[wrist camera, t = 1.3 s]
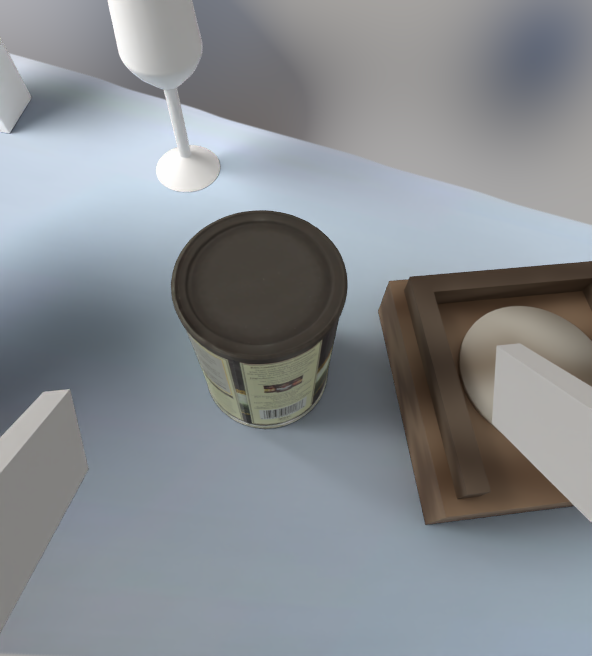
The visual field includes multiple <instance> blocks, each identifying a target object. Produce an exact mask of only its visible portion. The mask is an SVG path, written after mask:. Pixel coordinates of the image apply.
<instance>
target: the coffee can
mask: <svg viewBox="0 0 592 656" xmlns="http://www.w3.org/2000/svg"><path fill="white" fill-rule="evenodd" d="M171 294H172V300H173V304H174V308H175V310H176V313H177V315H178V317H179V319H180V321H181V322H182V324H183V326H184V327H185V329H186V331H187V333H188V336H189V338H190V341H191V343H192V346H193V348H194V350H195V353H196V355H197V358H198V361H199V363H200V366H201V368H202V371H203V373H204V376H205V378H206V381H207V385H208V388H209V391H210V394H211V396H212V398H213V399H214V401H215V403H216V404H217V405H218V407H219V408H220V409H221V410H222V411H223V412H224V413H225V414H226V415H228V416H229V417H230V418H232V419H233V420H235V421H237V422H239V423H241V424H243V425H247V426H250V427H255V428H264V429H268V428H276V427H281V426H285V425H288V424H290V423H293V422H295V421H297V420H299V419H300V418H302V417H303V416H305V415H306V414H307V413H308V412H310V411H311V410H312V409H313V408H314V406H315V405H316V404H317V402H318V401H319V399H320V398H321V396H322V394H323V391H324V389H325V386H326V382H327V375H328V368H329V363H330V358H331V353H332V348H333V343H334V339H335V335H336V330H337V325H338V321H339V317H340V315H341V312H342V310H343V307H344V304H345V301H346V296H347V273H346V269H345V265H344V262H343V259H342V256H341V255H340V253H339V251H338V249H337V248H336V246H335V245H334V244H333V242H332V241H331V240H330V239H329V238H328V237H327V236H326V235H325V234H324V233H323V232H322V231H320V230H319V229H318V228H317V227H315V226H313V225H312V224H310V223H309V222H307V221H305V220H303V219H300V218H298V217H295V216H293V215H289V214H286V213H281V212H274V211H247V212H241V213H236V214H232V215H229V216H226V217H224V218H221V219H219V220H217V221H215V222H213V223H211V224H209V225H208V226H206V227H205V228H203V229H202V230H201V231H199V232H198V233H197V234H196V235H195V236H194V237H193V238H191V240H190V241H189V242H188V243H187V244H186V246H185V247H184V248H183V250H182V251H181V253H180V255H179V257H178V259H177V261H176V263H175V266H174V270H173V273H172V280H171Z"/></svg>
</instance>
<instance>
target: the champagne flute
mask: <svg viewBox="0 0 592 656" xmlns="http://www.w3.org/2000/svg"><path fill="white" fill-rule="evenodd" d="M108 4H109V8H110V14H111V18H112V23H113V28H114V33H115V37H116V42H117V47H118V51H119V55H120V58H121V60H122V61H123V63H124V64H125V66H126V67H127V68H128V69H129V70H130V71H131V72H132V73H133V74H134V75H136V76H137V77H138V78H140V79H141V80H142V81H144V82H146V83H148V84H151V85H153V86H155V87H158V88H160V89H164V93H165V97H166V101H167V105H168V110H169V114H170V118H171V122H172V126H173V130H174V135H175V139H176V143H177V147H176V148H174V149H172V150H170V151H168V152H167V153H165V154H164V155H163V156H162V157H161V158H160V160H159V161H158V164H157V167H156V173H157V177H158V179H159V180H160V182H161V183H162V184H163V185H164V186H166V187H167V188H169V189H172V190H175V191H179V192H192V191H197V190H200V189H203V188H205V187H207V186H209V185H210V184H211V183H213V181H214V180H215V179H216V178H217V176H218V175H219V171H220V162H219V160H218V158H217V156H216V155H215V154H214V153H213V152H212V151H210V150H208V149H206V148H204V147H201V146H195V145H189V142H188V137H187V133H186V128H185V123H184V118H183V114H182V109H181V104H180V100H179V95H178V90H177V87H178V86H180V85H181V84H182V83H183V82H184V81H185V80H186V79H187V78H189V77H190V76H191V75H192V73H193V72H194V70H195V69H196V67H197V66H198V63H199V60H200V58H201V55H202V46H203V44H202V40H201V36H200V32H199V28H198V24H197V19H196V15H195V11H194V7H193V3H192V0H108Z"/></svg>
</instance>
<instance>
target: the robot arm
mask: <svg viewBox="0 0 592 656" xmlns="http://www.w3.org/2000/svg"><path fill="white" fill-rule="evenodd" d="M492 424H493V425H494V426H495V427H496V428H497V429H498V430H499V431H500V432H501V433H502V434H503V435H504V436H505V437H506V438H507V439H508V440H509V441H510V442H511V443H512V444H513V445H514V446H515V447H516V448H517V449H518V450H519V451H520V452H521V453H522V454H523V455H524V456H525V457H526V458H527V459H528V460H529V461H530V462H531V463H532V464H533V465H534V466H535V467H536V468H537V469H538V470H539V471H540V472H541V473H542V474H543V475H544V476H545V477H546V478H547V479H548V480H549V481H550V482H551V483H552V484H553V485H554V486H555V487H556V488H557V489H558V490H559V491H560V492H561V493H562V494H563V495H564V496H565V497H566V498H567V499H568V500H569V501H570V502H571V503H572V504H573V505H574V506H575V507H576V508H577V509H578V510H579V511H580V512H581V513H582V514H583V515H584V516H585V517H586V518H587V519H588V520H589V521H590V522H591V523H592V387H591V386H590V385H588V384H586V383H585V382H583V381H581V380H580V379H578V378H576V377H575V376H573V375H571V374H570V373H568V372H566V371H565V370H563V369H562V368H560V367H558V366H557V365H555V364H553V363H552V362H550V361H548V360H547V359H545V358H543V357H542V356H540V355H538V354H537V353H535V352H533V351H532V350H530V349H529V348H527V347H525V346H524V345H522V344H520V343H517V344H507V345H497V347H496V364H495V380H494V397H493V413H492ZM87 471H88V465H87V460H86V456H85V452H84V447H83V443H82V439H81V434H80V430H79V426H78V421H77V417H76V413H75V408H74V404H73V400H72V395H71V391H70V389H65V390H56V391H46V392H43V393H42V394H41V395H40V396H39V397H38V398H37V399H36V400H35V401H34V402H33V403H32V404H31V405H30V407H29V408H28V409H27V410H26V411H25V412H24V413H23V414H22V415H21V416H20V417H19V418H18V419H17V420H16V421H15V422H14V423H13V425H12V426H11V427H10V428H9V429H8V430H7V431H6V432H5V433H4V434H3V435H2V436H1V437H0V633H1V631H2V629H3V627H4V625H5V624H6V622H7V620H8V618H9V616H10V614H11V612H12V611H13V609H14V607H15V605H16V603H17V601H18V599H19V598H20V596H21V594H22V592H23V590H24V588H25V586H26V585H27V583H28V581H29V579H30V577H31V575H32V573H33V572H34V570H35V568H36V566H37V564H38V562H39V560H40V559H41V557H42V555H43V553H44V551H45V549H46V547H47V546H48V544H49V542H50V540H51V538H52V536H53V534H54V533H55V531H56V529H57V527H58V525H59V523H60V521H61V520H62V518H63V516H64V514H65V512H66V510H67V508H68V507H69V505H70V503H71V501H72V499H73V497H74V495H75V494H76V492H77V490H78V488H79V486H80V484H81V482H82V481H83V479H84V477H85V475H86V473H87Z"/></svg>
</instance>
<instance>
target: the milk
mask: <svg viewBox="0 0 592 656" xmlns="http://www.w3.org/2000/svg"><path fill="white" fill-rule="evenodd" d="M30 100H31V95H30V93H29V91H28V89H27V87H26V85H25V84H24V82H23V80H22V78H21V76H20V74H19V72H18V70H17V68H16V66H15V64H14V62H13V60H12V59H11V57H10V55H9V53H8V51H7V49H6V47H5V45H4V44H3V41H2V39H1V37H0V132H3V133H10V132H11V131H12V129H13V127H14V126H15V124H16V122H17V121H18V119H19V118H20V116H21V114H22V113H23V111H24V109H25V108H26V106H27V104H28V103H29V101H30Z"/></svg>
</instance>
